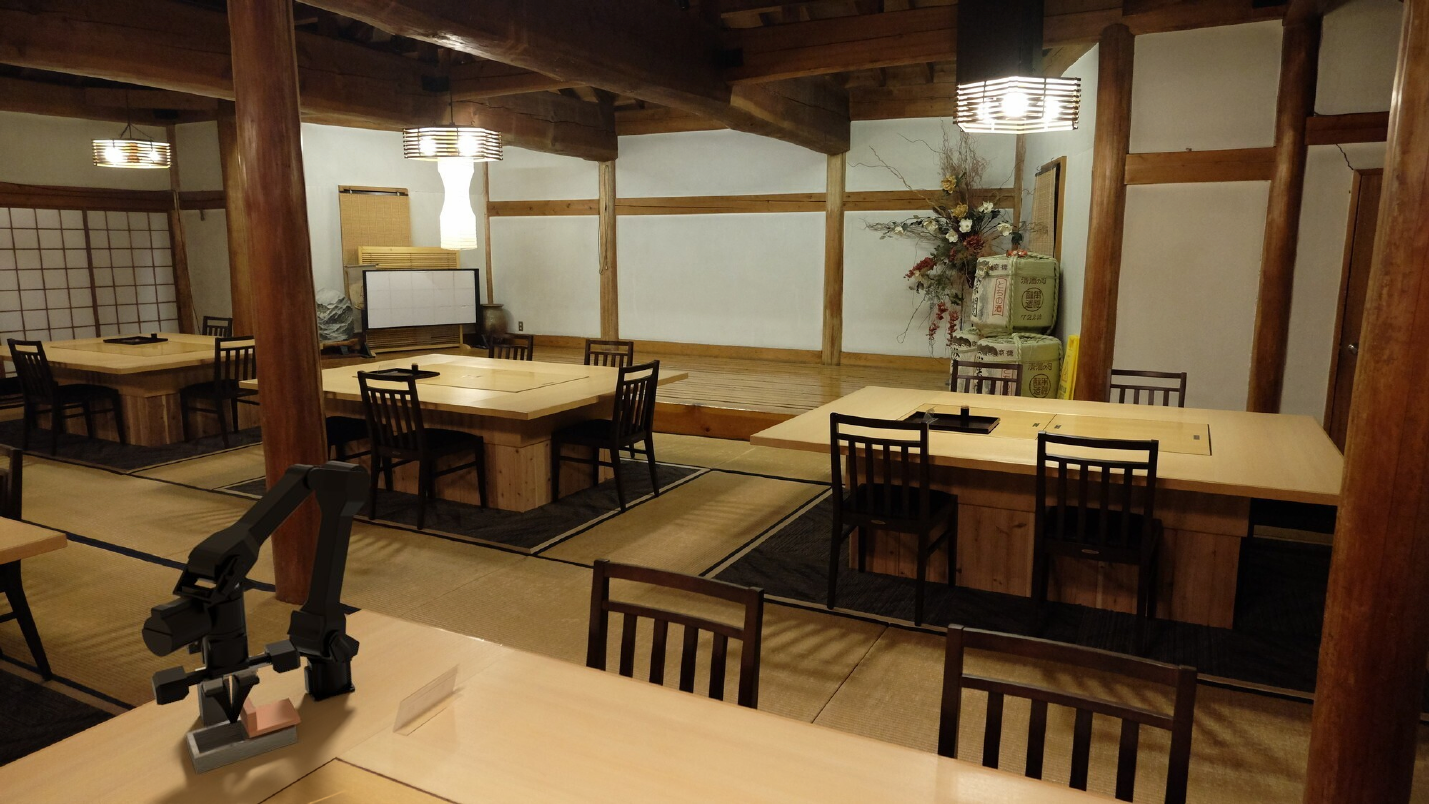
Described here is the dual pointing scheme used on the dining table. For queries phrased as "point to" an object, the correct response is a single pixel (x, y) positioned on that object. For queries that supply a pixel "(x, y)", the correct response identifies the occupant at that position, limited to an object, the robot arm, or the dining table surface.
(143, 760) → the dining table surface
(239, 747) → the grey rectangular box
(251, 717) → the salmon l-shaped block
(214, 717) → the plug
